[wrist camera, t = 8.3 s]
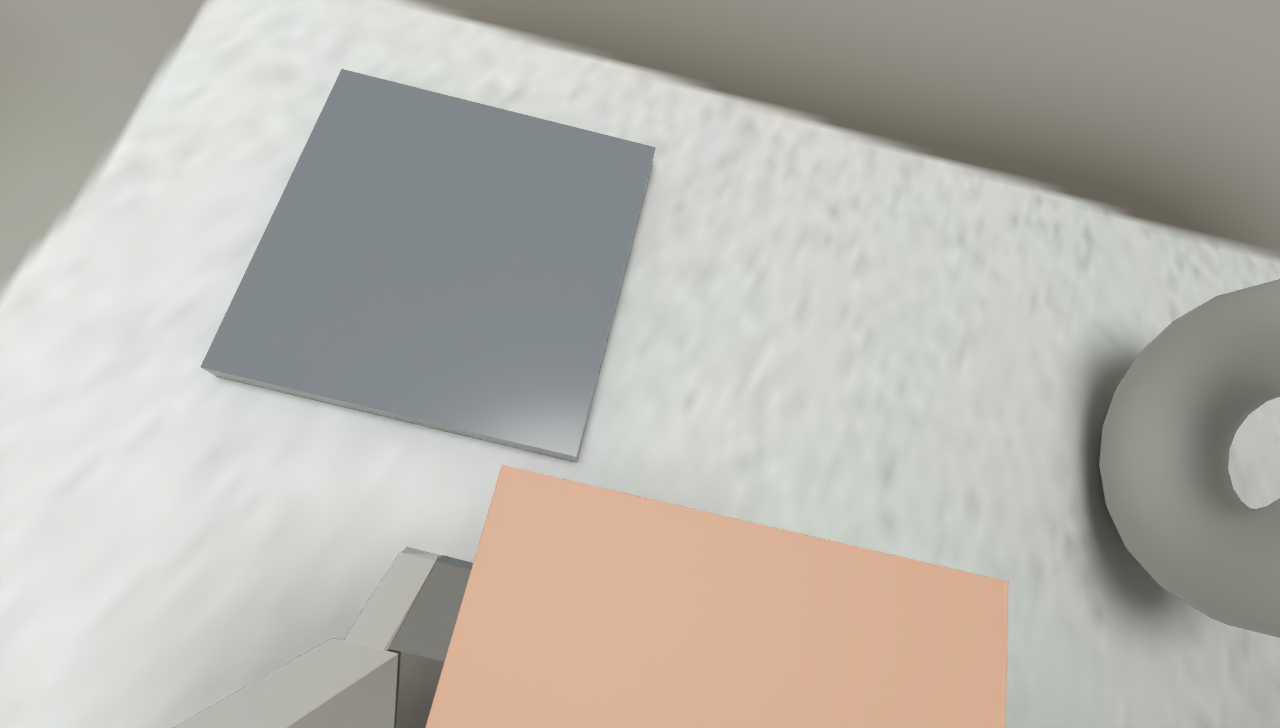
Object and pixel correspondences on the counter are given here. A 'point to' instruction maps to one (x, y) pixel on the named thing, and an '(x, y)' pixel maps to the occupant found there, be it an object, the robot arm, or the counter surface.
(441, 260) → the coaster
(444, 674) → the block
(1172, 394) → the donut
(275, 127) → the counter surface
